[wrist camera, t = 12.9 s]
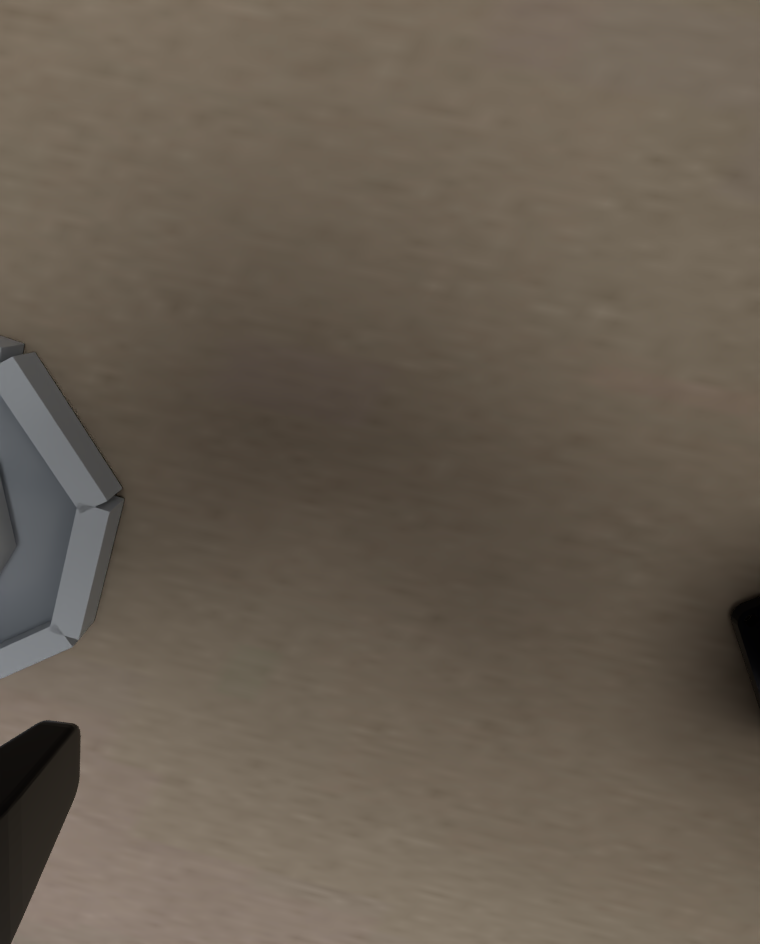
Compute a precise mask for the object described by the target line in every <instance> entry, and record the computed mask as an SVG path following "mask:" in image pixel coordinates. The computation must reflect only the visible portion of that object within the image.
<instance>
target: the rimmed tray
mask: <svg viewBox="0 0 760 944" xmlns="http://www.w3.org/2000/svg"><path fill="white" fill-rule="evenodd" d="M23 349H24V343H21V342H18V341H15V340H12V339H9V338H6V337H3V336H0V477H1V482H2V486H3V490H4V495H5V499H6V503H7V508H8V512H9V516H10V521H11V525H12V530H13V534H14V538H15V543H16V547H15V549H14V551H13V553H12V554H11V556H10V558H9V559H8V561H7V563H6V564H5V566H4V568H3V570H2V571H1V573H0V679H1V678H4V677H6V676H8V675H10V674H13V673H15V672H17V671H19V670H22V669H24V668H26V667H28V666H31V665H33V664H35V663H37V662H40V661H42V660H44V659H46V658H49V657H51V656H53V655H55V654H58V653H60V652H62V651H65V650H67V649H69V648H71V647H73V646H74V645H75V643H76V642H77V641H78V640H79V639H80V638H81V637H82V635H83V634H84V633H85V632H86V630H87V629H88V628H89V627H90V626H91V624H92V623H93V622H94V620H95V616H96V612H97V608H98V604H99V600H100V596H101V592H102V588H103V584H104V580H105V576H106V572H107V568H108V564H109V560H110V556H111V552H112V548H113V543H114V539H115V535H116V531H117V527H118V523H119V519H120V515H121V511H122V507H123V503H124V498H121V497H117V496H114V495H115V494H116V493H118V492H119V491H120V490H121V489H122V487H121V485H120V484H119V482H118V480H117V479H116V477H115V476H114V474H113V473H112V471H111V470H110V468H109V466H108V465H107V463H106V462H105V460H104V459H103V457H102V456H101V454H100V452H99V451H98V449H97V448H96V446H95V445H94V443H93V442H92V440H91V438H90V437H89V435H88V434H87V432H86V431H85V429H84V428H83V426H82V424H81V423H80V421H79V420H78V418H77V417H76V415H75V414H74V412H73V410H72V409H71V407H70V406H69V404H68V403H67V401H66V400H65V398H64V396H63V395H62V393H61V392H60V390H59V389H58V387H57V386H56V384H55V382H54V381H53V379H52V378H51V376H50V375H49V373H48V372H47V370H46V368H45V367H44V365H43V364H42V362H41V361H40V359H39V358H38V356H37V354H36V353H35V352H32V353H27V354H23Z"/></svg>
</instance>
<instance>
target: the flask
mask: <svg viewBox="0 0 760 944" xmlns="http://www.w3.org/2000/svg"><path fill="white" fill-rule="evenodd" d="M15 547H16V543H15V538H14V534H13V530H12V525H11V521H10V516H9V512H8V508H7V503H6V499H5V495H4V490H3V486H2V482H1V477H0V573H1V571H2V570H3V568H4V566H5V564H6V563H7V561H8V559H9V558H10V556H11V554H12V553H13V551H14V549H15Z"/></svg>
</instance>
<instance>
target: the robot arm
mask: <svg viewBox="0 0 760 944" xmlns="http://www.w3.org/2000/svg"><path fill="white" fill-rule="evenodd" d="M749 615H751V617H750V618H749V619H748V620H746V621H744V620H745V619H746V617H747V616H749ZM731 620H732V623H733V627H734V630H735V633H736V636H737V639H738V642H739V645H740V648H741V651H742V655H743V658H744V661H745V664H746V667H747V670H748V673H749V676H750V679H751V682H752V686H753V689H754V692H755V695H756V698H757V701H758V704H759V707H760V597H757V598H755V599H752V600H750V601H747V602H745V603H742V604H740V605H738V606H737V607H736V608H735V609H734V610H733V612H732V614H731ZM80 737H81V736H80V729H79V727H78V726H77V725H75V724H73V723H65V722H57V721H49V720H48V721H42V722H39V723H37V724H36V725H34V726H32V727H31V728H29V729H28V730H26V731H24V732H23V733H21V734H19V735H18V736H16V737H15V738H13V739H11V740H10V741H8V742H7V743H5V744H3V745H2V746H0V944H11V942H12V940H13V938H14V935H15V933H16V931H17V929H18V927H19V924H20V922H21V920H22V918H23V916H24V913H25V911H26V909H27V906H28V904H29V902H30V899H31V897H32V895H33V893H34V890H35V888H36V886H37V883H38V881H39V879H40V876H41V874H42V872H43V870H44V867H45V865H46V863H47V860H48V858H49V856H50V853H51V851H52V849H53V847H54V844H55V842H56V840H57V837H58V835H59V833H60V830H61V828H62V826H63V823H64V821H65V819H66V817H67V814H68V812H69V810H70V807H71V805H72V803H73V800H74V798H75V795H76V792H77V788H78V784H79V777H80Z"/></svg>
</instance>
